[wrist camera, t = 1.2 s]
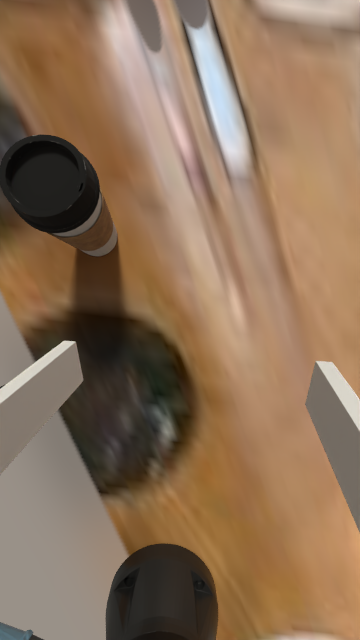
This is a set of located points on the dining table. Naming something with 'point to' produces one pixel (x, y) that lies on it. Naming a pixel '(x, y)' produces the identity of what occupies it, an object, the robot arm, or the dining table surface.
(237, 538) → the dining table surface
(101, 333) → the dining table surface
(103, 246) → the coffee cup
